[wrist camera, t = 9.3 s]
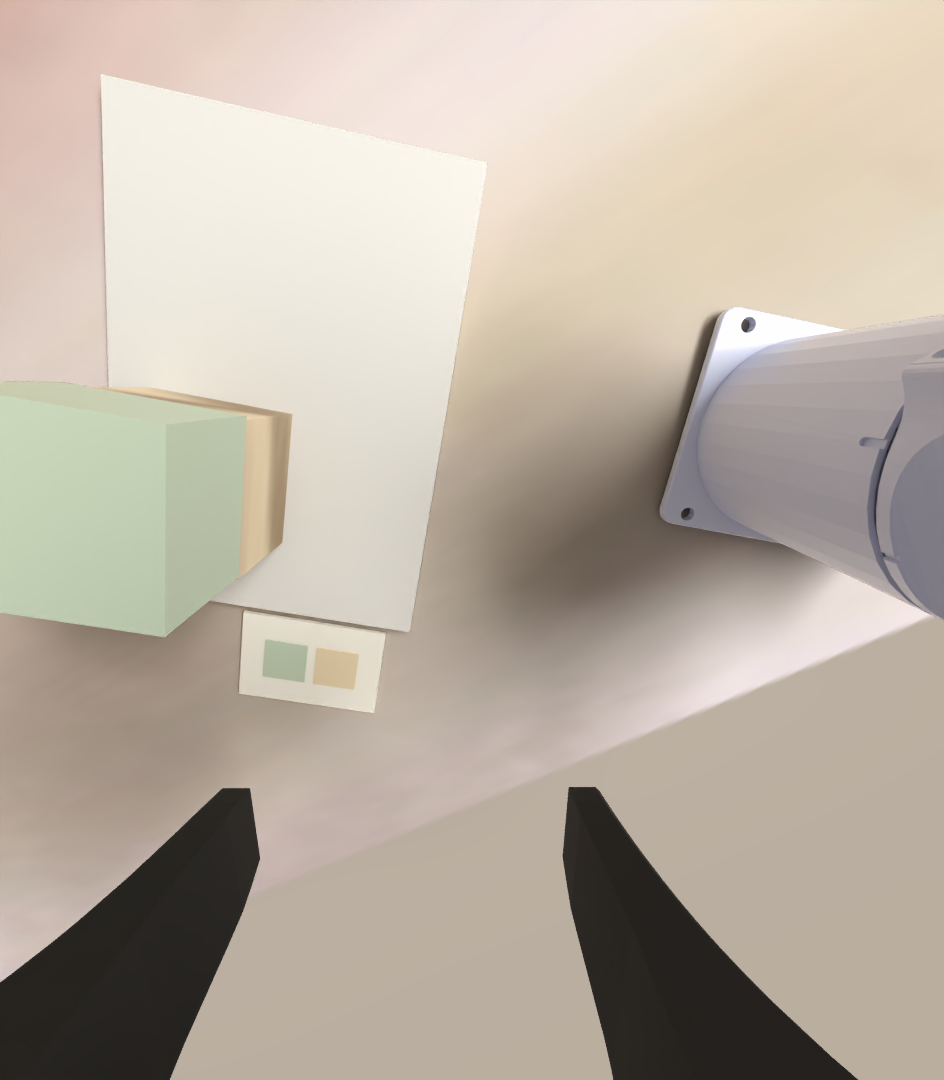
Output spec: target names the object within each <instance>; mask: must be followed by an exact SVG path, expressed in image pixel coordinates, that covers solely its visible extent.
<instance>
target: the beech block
mask: <svg viewBox="0 0 944 1080" xmlns="http://www.w3.org/2000/svg"><path fill="white" fill-rule="evenodd" d="M92 388H98V389H103V390H109V391H114V392H120V393H125V394H131V395H136V396H142V397H147V398H153V399H158V400H164V401H169V402H175V403H180V404H186V405H191V406H197V407H202V408H207V409H213V410H218V411H224V412H229V413H235V414H240V415H246V416H247V421H246V440H245V460H244V480H243V500H242V520H241V540H240V559H239V577H237V578H236V579H235V580H238V579H239V578H241V577H242V576H243V575H244V574H245V573H247V572H248V571H249V570H250V569H251V568H253V567H254V566H255V565H256V564H257V563H259V562H260V561H261V560H262V559H263V558H265V557H266V556H267V555H268V554H269V553H271V552H272V551H273V550H274V549H275V548H277V547H278V546H279V545H280V544H281V543H282V541H283V528H284V515H285V503H286V490H287V478H288V465H289V452H290V440H291V427H292V414H290V413H285V412H279V411H274V410H269V409H263V408H258V407H253V406H247V405H242V404H237V403H231V402H226V401H220V400H215V399H210V398H204V397H199V396H194V395H188V394H183V393H178V392H172V391H167V390H162V389H156V388H142V387H92Z"/></svg>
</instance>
